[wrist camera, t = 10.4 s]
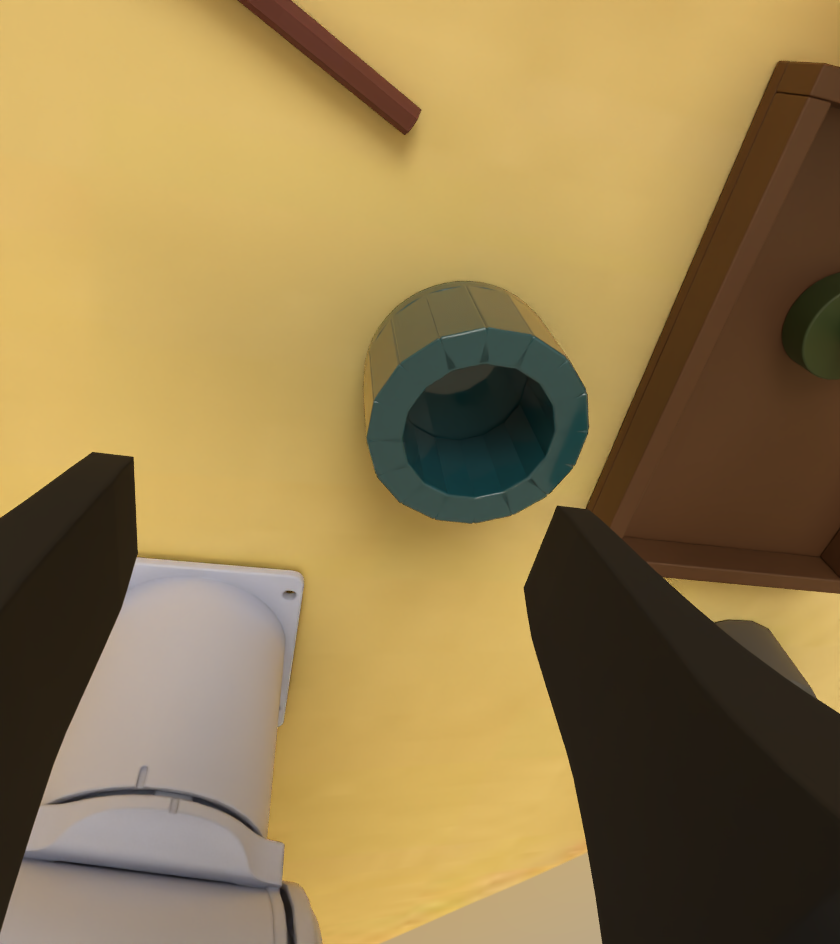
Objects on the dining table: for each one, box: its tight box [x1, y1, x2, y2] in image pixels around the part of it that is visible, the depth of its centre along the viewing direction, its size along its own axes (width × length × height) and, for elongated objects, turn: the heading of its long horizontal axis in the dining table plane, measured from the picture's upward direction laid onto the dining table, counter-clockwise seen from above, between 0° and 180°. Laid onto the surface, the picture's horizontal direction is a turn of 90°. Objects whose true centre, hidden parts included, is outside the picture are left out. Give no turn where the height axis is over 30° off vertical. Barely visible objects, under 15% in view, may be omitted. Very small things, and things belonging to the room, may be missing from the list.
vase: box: [363, 281, 589, 524], centre depth 20 cm, size 6×6×4 cm
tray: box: [587, 61, 840, 594], centre depth 22 cm, size 16×11×2 cm
